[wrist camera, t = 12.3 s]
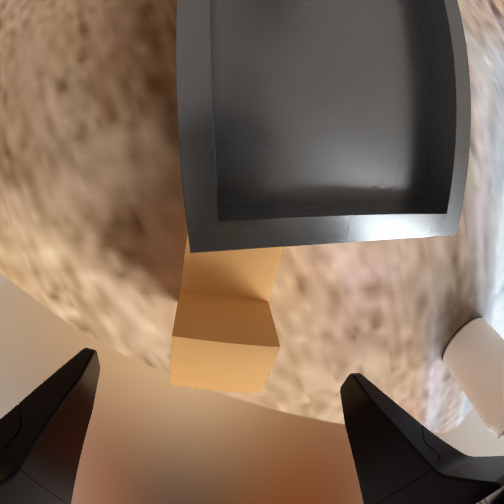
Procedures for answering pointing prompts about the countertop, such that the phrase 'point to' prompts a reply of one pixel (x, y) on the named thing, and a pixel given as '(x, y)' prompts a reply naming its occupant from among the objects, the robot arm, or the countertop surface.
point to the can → (479, 370)
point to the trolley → (321, 120)
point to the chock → (225, 320)
